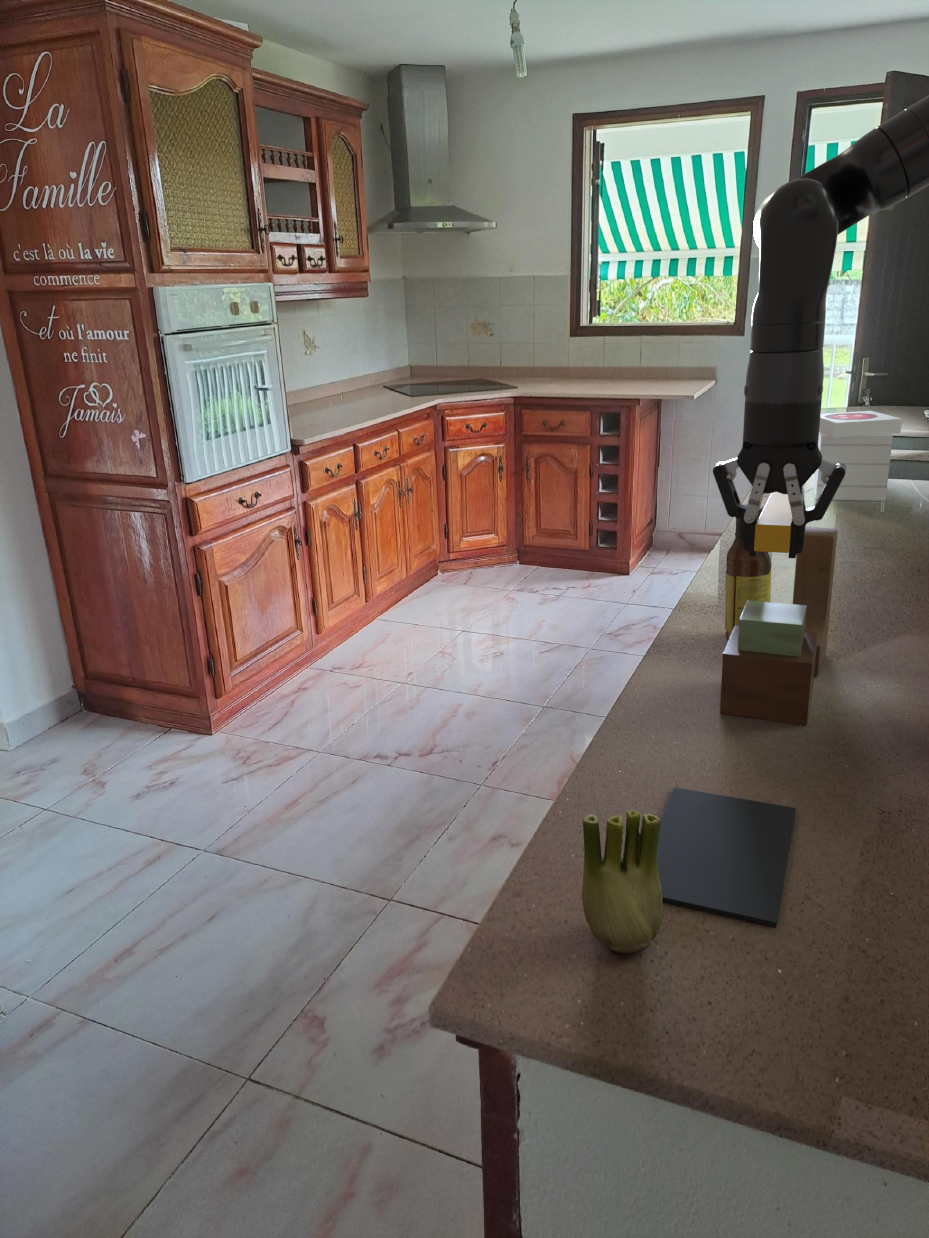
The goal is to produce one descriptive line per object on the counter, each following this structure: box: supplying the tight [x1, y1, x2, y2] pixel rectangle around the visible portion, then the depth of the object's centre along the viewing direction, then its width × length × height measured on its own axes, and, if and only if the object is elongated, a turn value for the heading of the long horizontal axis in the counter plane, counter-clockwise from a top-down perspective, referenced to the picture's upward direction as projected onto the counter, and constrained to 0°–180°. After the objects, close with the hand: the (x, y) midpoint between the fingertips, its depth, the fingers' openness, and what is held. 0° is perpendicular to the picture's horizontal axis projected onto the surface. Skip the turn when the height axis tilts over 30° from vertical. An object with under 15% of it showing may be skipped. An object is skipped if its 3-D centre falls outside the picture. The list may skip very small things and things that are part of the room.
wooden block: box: [792, 526, 839, 677], centre depth 117 cm, size 9×4×18 cm, turn 153°
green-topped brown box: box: [719, 601, 818, 726], centre depth 108 cm, size 10×10×12 cm
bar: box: [754, 488, 805, 554], centre depth 101 cm, size 18×4×3 cm, turn 156°
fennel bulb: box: [581, 809, 664, 955], centre depth 70 cm, size 6×5×12 cm
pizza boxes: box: [813, 410, 903, 502], centre depth 212 cm, size 19×30×18 cm, turn 162°
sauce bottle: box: [724, 503, 772, 641], centre depth 126 cm, size 6×6×20 cm
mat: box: [657, 786, 797, 928], centre depth 82 cm, size 18×12×1 cm, turn 156°
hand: (772, 554), depth 97 cm, fingers closed on bar, 3 cm apart
